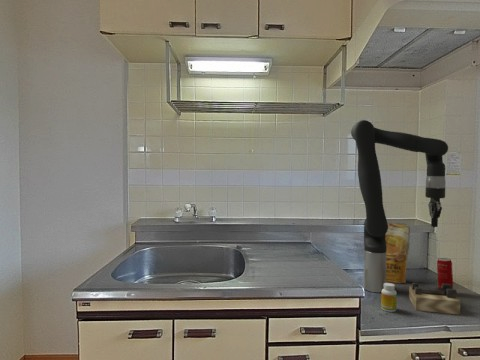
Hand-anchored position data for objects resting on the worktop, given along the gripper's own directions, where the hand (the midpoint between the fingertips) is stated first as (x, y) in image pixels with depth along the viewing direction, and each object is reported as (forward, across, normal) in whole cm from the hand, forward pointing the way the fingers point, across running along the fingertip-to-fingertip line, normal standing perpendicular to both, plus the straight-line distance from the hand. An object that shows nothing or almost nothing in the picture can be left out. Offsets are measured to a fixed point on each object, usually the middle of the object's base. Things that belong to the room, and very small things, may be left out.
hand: (434, 226), depth 157 cm
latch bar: (+24, +16, -4) cm, 29 cm away
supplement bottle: (+29, +25, -21) cm, 44 cm away
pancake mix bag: (+29, -13, -17) cm, 36 cm away
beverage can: (+29, -1, +5) cm, 30 cm away
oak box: (+29, +16, -4) cm, 33 cm away
